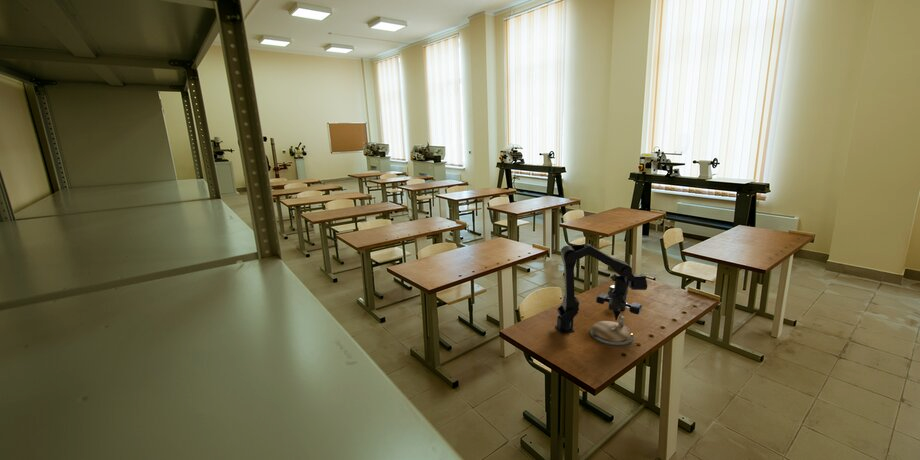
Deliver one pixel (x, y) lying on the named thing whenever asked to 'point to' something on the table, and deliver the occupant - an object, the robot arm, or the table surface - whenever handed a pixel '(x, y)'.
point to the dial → (612, 330)
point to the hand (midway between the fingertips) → (616, 320)
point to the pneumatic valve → (611, 291)
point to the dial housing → (609, 341)
